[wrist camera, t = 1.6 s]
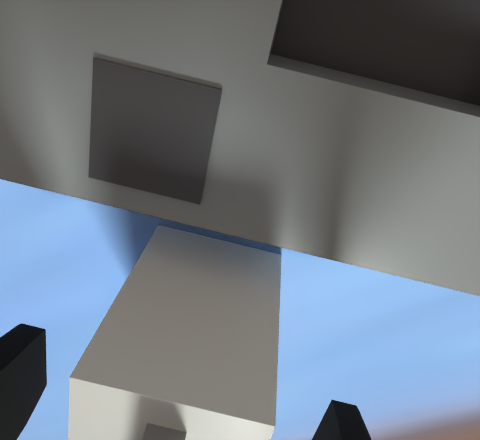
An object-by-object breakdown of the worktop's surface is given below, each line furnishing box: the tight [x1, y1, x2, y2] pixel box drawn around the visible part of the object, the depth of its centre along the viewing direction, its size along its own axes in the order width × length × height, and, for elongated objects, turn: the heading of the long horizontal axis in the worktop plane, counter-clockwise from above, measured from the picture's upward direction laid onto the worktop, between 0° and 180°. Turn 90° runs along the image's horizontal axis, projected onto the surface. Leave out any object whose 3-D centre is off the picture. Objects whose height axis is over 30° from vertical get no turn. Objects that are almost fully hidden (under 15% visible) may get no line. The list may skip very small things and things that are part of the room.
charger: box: [68, 225, 281, 440], centre depth 11 cm, size 4×4×7 cm
